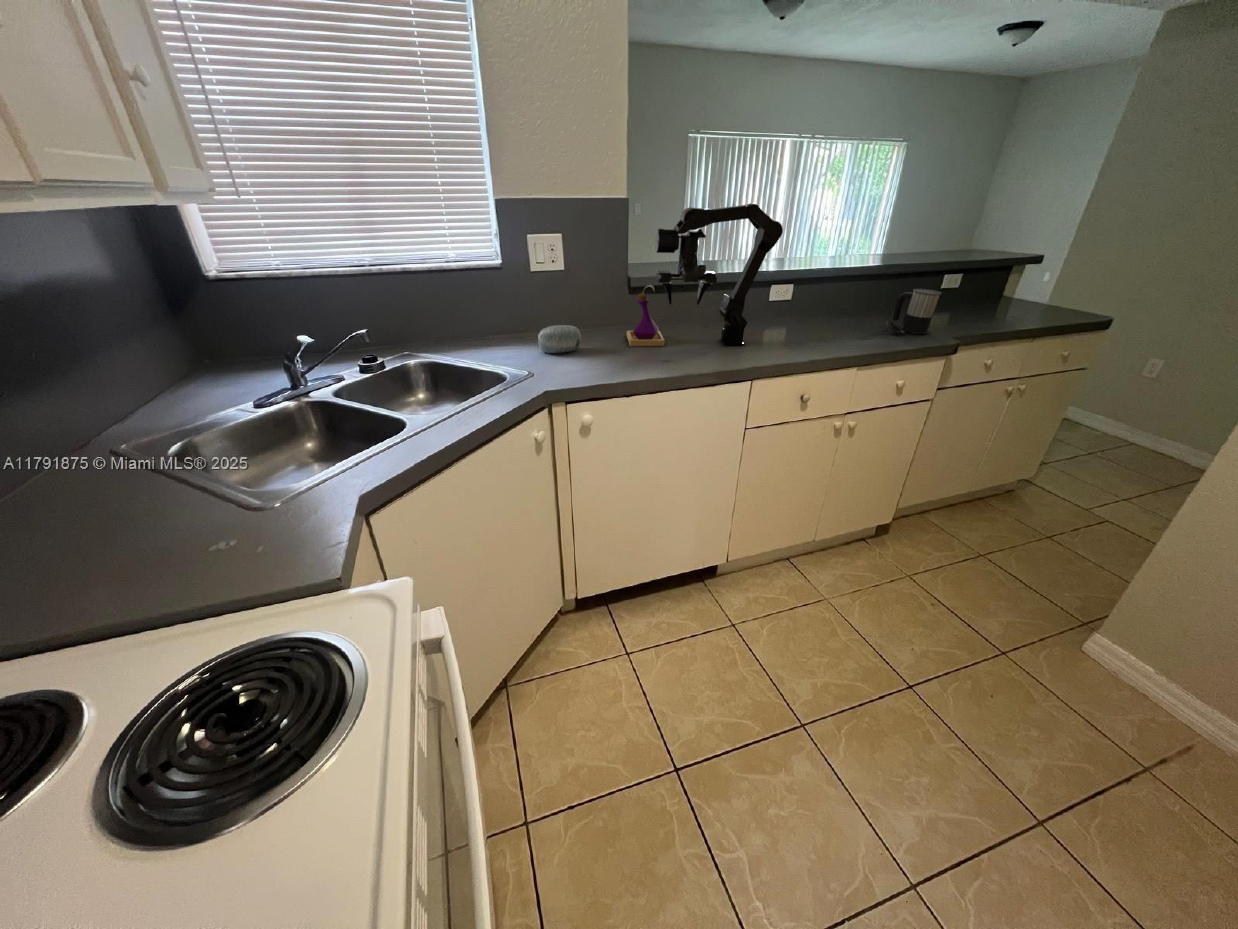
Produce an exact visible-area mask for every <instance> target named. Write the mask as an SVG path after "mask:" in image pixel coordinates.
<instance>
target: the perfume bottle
mask: <svg viewBox="0 0 1238 929" xmlns="http://www.w3.org/2000/svg"><path fill="white" fill-rule="evenodd" d="M648 287H649V288H651V289H652V290H653V291H655V287H654V285H653V284H649V285H648V284H647V285H646V286H645V287H644V289H643V291H642V292H640V293H639V294H638V295H637V296H638V299H636V302H637V303H638V304H639V305H640V307H641V312H642V317H641V319H640V321H639V323H638V325H636V327H635V328H634V330H632V331H633V333H634V334H635V336H636V337H637V339H638V340H652V339H653V337H654V336H655V334H656V333H657V331H659V329H660V328H659V327H658V325H657V324H656V323H655V321H654V320H653V319H652V318H653V317H652V316H651V314H650V312H649V308H648V303H649V302H650V300H649V299H648V295H647V293H645V290H646V288H648Z"/></svg>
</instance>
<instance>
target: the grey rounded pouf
mask: <svg viewBox="0 0 1238 929" xmlns="http://www.w3.org/2000/svg"><path fill="white" fill-rule="evenodd" d="M581 336H582V335H581V331H580V329H579V328H578V327H577V326H574V325H569V324H568V325H566V324H557V325H549V326H546V327H544V328H542V329H541V330H540V331H539V332H538V336H537V343H538V347H539V349H540V350H541V351H542V352H543V353H546V354H547V353H548V354H560V353H569V352H575V351H577V350H578V349H579V347H580V345H581V341H582V337H581Z"/></svg>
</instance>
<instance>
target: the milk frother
mask: <svg viewBox="0 0 1238 929" xmlns="http://www.w3.org/2000/svg"><path fill="white" fill-rule="evenodd" d="M912 290H913V291H905V292H903V293H901V294H900V295H899V296H898V297H897V298H896V301H895V305H894V309H893V314H892V321H898V320H899V319H900V317H901V314H902V310H903V306H904V302H905V300H906V299H909V302H908V305H907V308H906V311H905V314H904V316H903V320H902V322H901V325H902V326H900V325H898V324H896V323H894V322H892V321H886V327H887V328H888V329H889V330H891V331H892V332H893V333H894V335H898V334H899V335H905V334H906V333H908V334H916V335H927V334H928V330H929V328H930V324H931V321H932V318H933V315H934V312H935V310H936V307H937V304H938V301H939V298H940V296H941V295H942V292H941V291H938V290H934V289H927V288H914V289H912Z"/></svg>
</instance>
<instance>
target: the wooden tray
mask: <svg viewBox="0 0 1238 929" xmlns="http://www.w3.org/2000/svg"><path fill="white" fill-rule="evenodd" d="M633 331H634V330H626V338H627V341H628V344H629V347H665V342H666V341H665V338H664V337H663V335H662V333H661V331H660V330H658V331H657V333H656V334H655V336H654V337H653V339H652V340H638V339H637V337H636V336H635V334H634V333H633Z"/></svg>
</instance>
